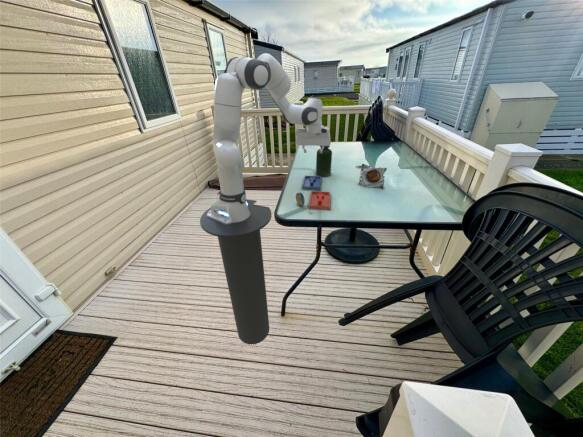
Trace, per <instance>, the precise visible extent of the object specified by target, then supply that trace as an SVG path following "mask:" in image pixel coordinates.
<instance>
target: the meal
mask: <svg viewBox="0 0 583 437" xmlns="http://www.w3.org/2000/svg"><path fill="white" fill-rule="evenodd" d="M387 170H388V168H387V167H381V166H380V167H373V166H371V165H368V164H364V163H361V166H360V173H359V181H358V185H360V186H363V187H366V188H380V189H384V184H385V181H386V180H385V178H386V176H385V173H386V171H387Z"/></svg>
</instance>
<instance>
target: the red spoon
mask: <svg viewBox="0 0 583 437" xmlns="http://www.w3.org/2000/svg"><path fill="white" fill-rule="evenodd" d="M317 198H318V205H319V206H321V204H322V199H323V198H324V194H322V193H318V194H317Z"/></svg>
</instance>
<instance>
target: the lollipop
mask: <svg viewBox="0 0 583 437" xmlns="http://www.w3.org/2000/svg"><path fill="white" fill-rule="evenodd" d="M305 201H306V200H305V197H304V194H303V193H302V192H300V191H299V192H296V193H295V202H296V204H297V206H305V207H306V209H307V210H308V212H309V213H310V214H311V213H312V212H311V211H310V210H309V207H307V206H306V204H305Z"/></svg>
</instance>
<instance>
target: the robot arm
mask: <svg viewBox="0 0 583 437" xmlns="http://www.w3.org/2000/svg"><path fill="white" fill-rule="evenodd" d="M225 64H226V65H225V68H224V70H223V72H222V73H220V74H219V75H217V77H216V80H215V85H214V92H213V132H212V150H213V154H214V157H215V158H214V159H215V162H216V167H217V168H216V169H217V175H218V182H219V187H220V190H219V191H218V192H217V193H216V194H217V196H219V197H216V199H215V200H214V201H213V202H212V203H211V205H210V208H211V210H210V211H209V212H208V213H207V217H209V218H211V219H214V220H216V221H219V222H221V223H223V224H226V225H227V224H231V223H235V222H241V221H244V220H246V219H247V218H248V217H249V216H250V211H249V209H248V206H247V205H248V204H247V202H246V199H247V195H246V193H247V192H246V189H245V185H244V176H243V157H242V156H243V155H242V150H241V148H240V147H239V135H240V130H241V126H242V124H241V123H242V107H243V106H242V104H243V103H242V101H243V100H242V96H243V94H244V92H245V91H244V90H253V91H258V90H262V89H264V88H265V89H266V90H267V91H268V92H269V95H270V98H271V99H272V101H273V102H274V104H275V105H276V106H277V108H278V109H279V111H280V113H281V115H282V117H283V120H284V121H285V123H287V124H290V125H299V126H305V128H297V129H296V130H295V136H296V140H295V143H296V145H297V146H301V148H302V150H303V153H304V154H307V152H308V151H307V149H306V146H311V147H312V146H314V147H315V146H316V147H320V146H322V149H321V148H320V149H321V150H320V153H322V150H323V149H324V146H329V145H330V146H331V144H332V143H331V142H332V141H331V133H330V127H328V126H325V125H323V121H322V118H323V101H322V99H321V98H319V97H311V96H310V97H308V98H307V100H306V102H304V104H302V105H301V104H294V103H291V102H290V100H288V98H287V97H286V96H287V95H288V94H289V92H290V90H291V86H292V82H291V78H290V76H289V74H288V73H287V71H286V70H285V69H284V67H283V66H282V64H280V62H279V61H278V60H277V59H276V58H275V57H274V56H272V55H271V54H270V53H262V54H260V55H259V56H257V57H256V58H252V57H249V56H235V57H232V58H230V59H229V60H228V61H227V62H226V63H225Z"/></svg>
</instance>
